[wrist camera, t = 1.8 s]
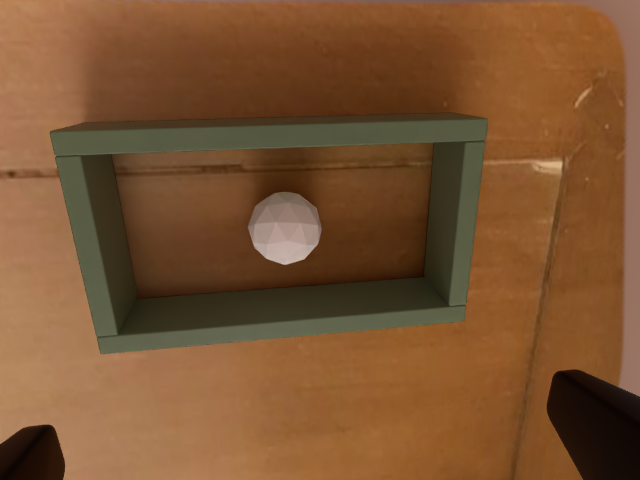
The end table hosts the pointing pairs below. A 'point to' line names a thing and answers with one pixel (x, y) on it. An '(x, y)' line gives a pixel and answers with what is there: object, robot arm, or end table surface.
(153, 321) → the box frame
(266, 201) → the polyhedron
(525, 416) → the end table surface
